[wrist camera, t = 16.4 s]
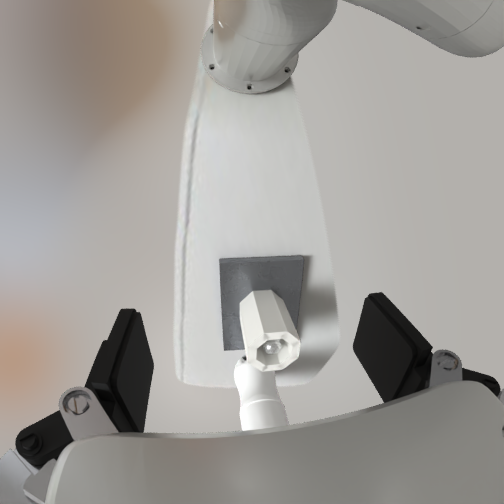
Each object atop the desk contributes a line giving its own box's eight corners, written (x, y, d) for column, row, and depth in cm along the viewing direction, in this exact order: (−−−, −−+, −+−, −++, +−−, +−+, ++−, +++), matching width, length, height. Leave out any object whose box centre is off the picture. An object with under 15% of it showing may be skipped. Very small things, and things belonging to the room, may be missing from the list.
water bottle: (279, 359, 49) (317, 478, 26) (253, 380, 51) (277, 496, 28) (250, 342, 47) (279, 475, 24) (224, 366, 48) (238, 492, 25)
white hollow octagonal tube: (239, 291, 41) (247, 334, 32) (284, 288, 42) (303, 329, 32) (239, 327, 43) (247, 373, 34) (281, 324, 44) (297, 367, 35)
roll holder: (219, 258, 40) (222, 300, 30) (301, 255, 42) (328, 293, 31) (223, 344, 46) (228, 394, 36) (292, 339, 48) (310, 385, 37)
